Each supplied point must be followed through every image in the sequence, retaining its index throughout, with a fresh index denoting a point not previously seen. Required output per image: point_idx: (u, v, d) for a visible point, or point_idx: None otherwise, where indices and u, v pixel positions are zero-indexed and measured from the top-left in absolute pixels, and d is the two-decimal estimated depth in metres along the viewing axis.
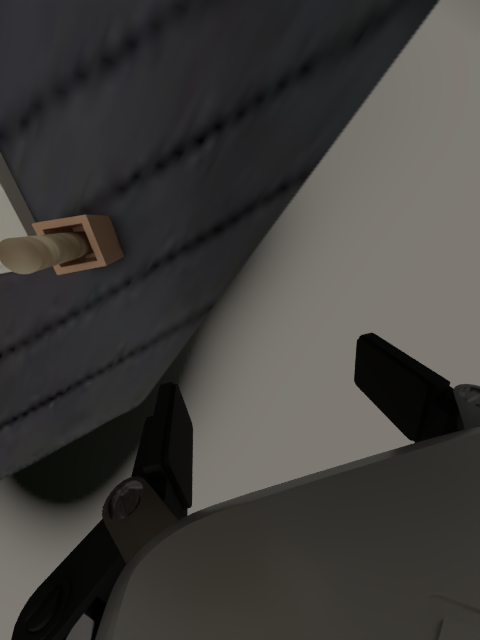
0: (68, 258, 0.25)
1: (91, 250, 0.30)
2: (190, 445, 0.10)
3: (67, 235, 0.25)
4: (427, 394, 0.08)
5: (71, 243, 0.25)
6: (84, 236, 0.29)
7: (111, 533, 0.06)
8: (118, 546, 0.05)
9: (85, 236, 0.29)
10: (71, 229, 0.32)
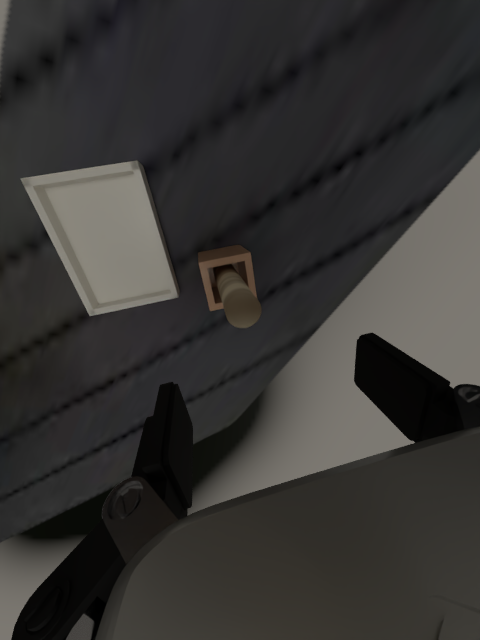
0: None
1: None
2: (190, 445, 0.10)
3: (238, 275, 0.25)
4: (427, 394, 0.08)
5: None
6: (236, 271, 0.28)
7: (111, 533, 0.06)
8: (118, 546, 0.05)
9: None
10: None
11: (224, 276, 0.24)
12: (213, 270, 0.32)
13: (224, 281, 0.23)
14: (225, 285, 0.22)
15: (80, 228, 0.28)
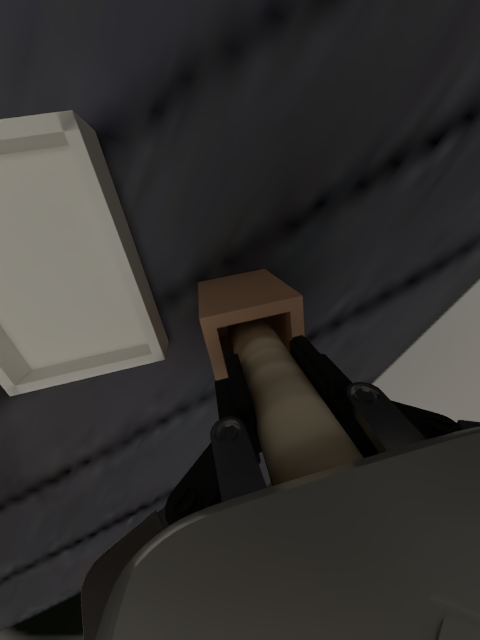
0: None
1: None
2: None
3: (282, 346, 0.12)
4: (327, 391, 0.09)
5: None
6: (269, 325, 0.15)
7: (213, 448, 0.07)
8: (215, 460, 0.07)
9: (269, 324, 0.15)
10: None
11: (254, 351, 0.12)
12: None
13: (258, 372, 0.10)
14: (265, 392, 0.09)
15: None
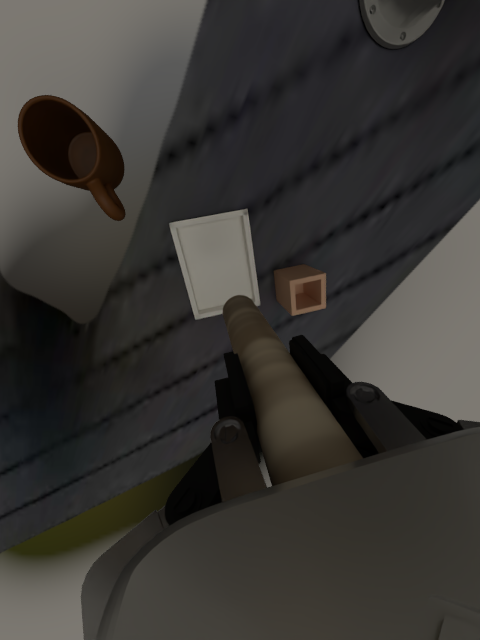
0: None
1: None
2: None
3: (282, 347, 0.12)
4: (327, 391, 0.09)
5: None
6: None
7: (213, 448, 0.07)
8: (215, 460, 0.07)
9: (269, 325, 0.15)
10: None
11: (254, 352, 0.12)
12: (224, 314, 0.19)
13: (258, 373, 0.10)
14: (265, 394, 0.09)
15: (195, 255, 0.38)
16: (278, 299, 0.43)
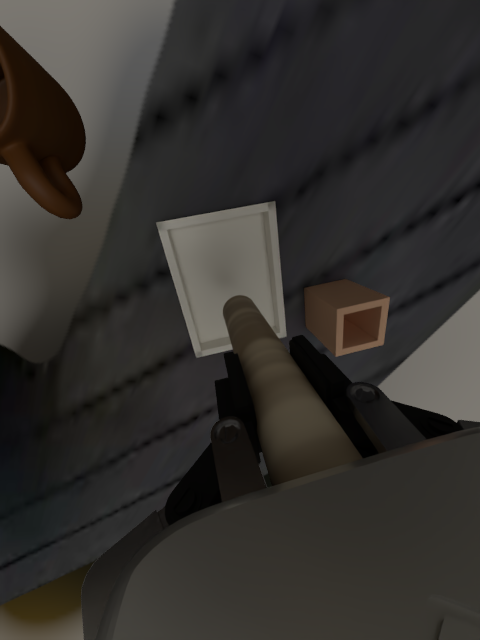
0: None
1: None
2: None
3: (282, 348, 0.12)
4: (327, 391, 0.09)
5: None
6: (270, 326, 0.15)
7: (213, 448, 0.07)
8: (215, 460, 0.07)
9: (269, 325, 0.15)
10: None
11: (254, 352, 0.12)
12: (224, 314, 0.19)
13: (258, 373, 0.10)
14: (265, 394, 0.09)
15: (197, 268, 0.26)
16: (309, 326, 0.32)
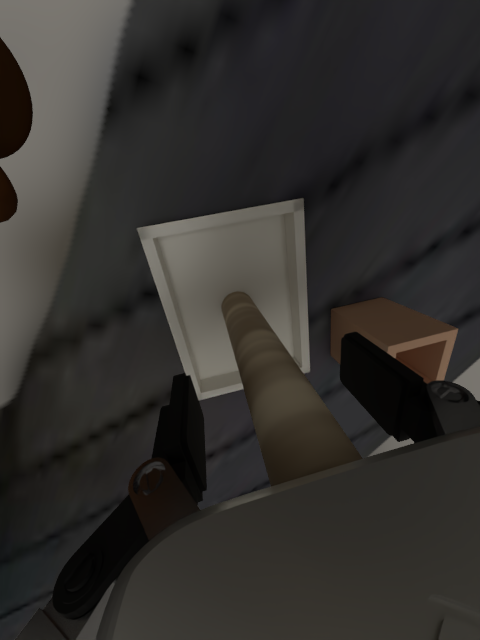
0: None
1: None
2: (202, 433, 0.11)
3: (276, 338, 0.13)
4: (402, 390, 0.08)
5: None
6: (265, 319, 0.16)
7: (135, 506, 0.06)
8: (141, 519, 0.06)
9: (265, 319, 0.16)
10: None
11: (249, 342, 0.12)
12: (222, 309, 0.20)
13: (252, 360, 0.11)
14: (258, 378, 0.10)
15: (195, 288, 0.20)
16: (336, 356, 0.25)
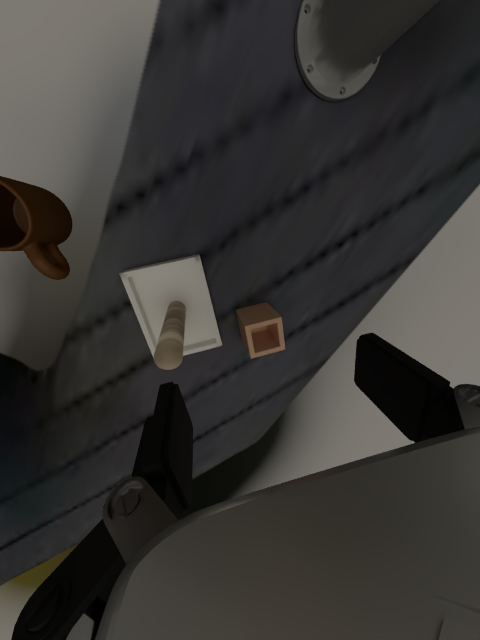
0: None
1: None
2: (190, 445, 0.10)
3: (177, 321, 0.31)
4: (427, 394, 0.08)
5: (183, 329, 0.30)
6: (181, 314, 0.34)
7: (111, 533, 0.06)
8: (118, 546, 0.05)
9: (181, 314, 0.34)
10: None
11: (165, 322, 0.30)
12: None
13: (163, 328, 0.29)
14: (161, 333, 0.28)
15: (152, 300, 0.37)
16: (242, 337, 0.43)
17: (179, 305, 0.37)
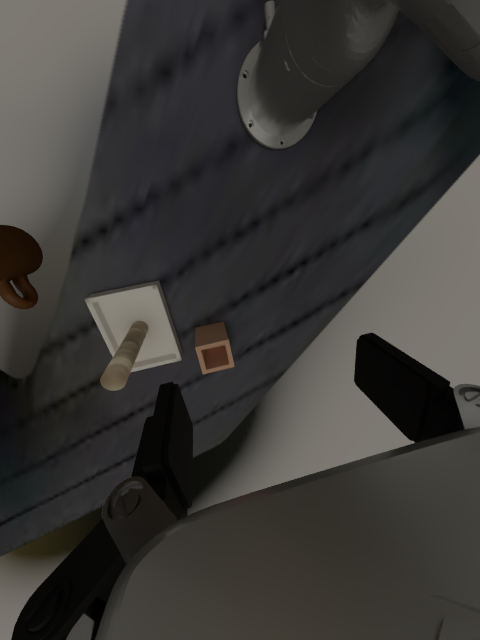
0: (133, 363, 0.35)
1: (142, 343, 0.40)
2: (190, 445, 0.10)
3: (131, 344, 0.35)
4: (427, 394, 0.08)
5: (135, 352, 0.35)
6: (139, 336, 0.39)
7: (111, 533, 0.06)
8: (118, 546, 0.05)
9: (139, 335, 0.39)
10: None
11: (120, 345, 0.35)
12: None
13: (116, 352, 0.34)
14: (113, 357, 0.32)
15: (117, 320, 0.42)
16: None
17: (140, 326, 0.41)
